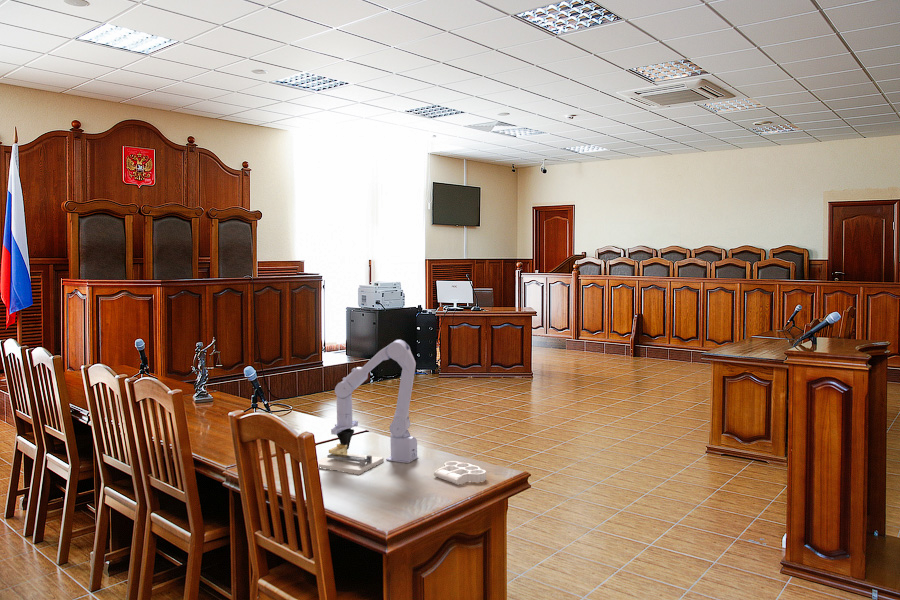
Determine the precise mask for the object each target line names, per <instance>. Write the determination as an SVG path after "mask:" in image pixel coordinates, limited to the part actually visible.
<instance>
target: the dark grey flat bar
mask: <svg viewBox="0 0 900 600" xmlns="http://www.w3.org/2000/svg"><path fill="white" fill-rule="evenodd" d="M326 457H327V458H334V459H341V460H348V461H356V462H360V459H365V463H366V462H368V461H369V460H370V458H369V457H367V458H364V457H356V456H349V455H341V454H331V453H329V454H328V455H326Z"/></svg>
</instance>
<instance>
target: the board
mask: <svg viewBox="0 0 900 600" xmlns="http://www.w3.org/2000/svg"><path fill="white" fill-rule="evenodd" d="M347 455H349V456H356V457H364V458H367V457H369V458H370V460H369V461H368V462H366V463H365V459H360V462H356V461H348V460H341V459H334V458H327V456H325V457H324V458H321V459H319V460H317V461H318V462H319V468H320V467H321V468H326V469H331V470H330V471H333V470H338V471H337V472H340V471H344V472H343V473H346V472H348V473H347V474H353V473H354V474H355V475H361V474H363V473H365V472H367V471H369V470H370V468H371V469H372V467H373V468H374V467H377V466H378V465H381V464H383V462H384V459H385V458H384V457H381V456H380V457H379V456H373V455H371V454H370V455H369V454H365V455H364V454H359V453H350V452H347ZM376 465H377V466H376ZM319 468H318V469H319ZM326 469H325V470H326ZM368 469H369V470H368ZM366 470H367V471H366ZM364 471H365V472H364Z"/></svg>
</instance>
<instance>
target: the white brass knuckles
mask: <svg viewBox="0 0 900 600" xmlns="http://www.w3.org/2000/svg"><path fill="white" fill-rule="evenodd" d="M433 476H434V477H435V478H437V477H438V478H439V479H441V480H444V481H446V482H450V483H453V484H455V485H457V486H460V485H459V484H461V485H463V484H462V483H464V484H466V483H465V482H469V481H471V482H481V481H485V480H486V481H487V470H485V469H482V468H481V467H480V466H478V465H473V464H471V463H468V462H460V461H457V460H454V461H453V460H450V461H446V462H444V464H443V466H442V467H440V468H437V469H436V470H435V471H434V472H433ZM486 481H485V482H486ZM471 482H469V483H471Z"/></svg>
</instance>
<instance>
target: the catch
mask: <svg viewBox="0 0 900 600" xmlns="http://www.w3.org/2000/svg"><path fill="white" fill-rule="evenodd" d="M347 453H348V450H347V444H341V443H337V444H336V446H334V447H333V448H330V449H328V454H341V455H347Z"/></svg>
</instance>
